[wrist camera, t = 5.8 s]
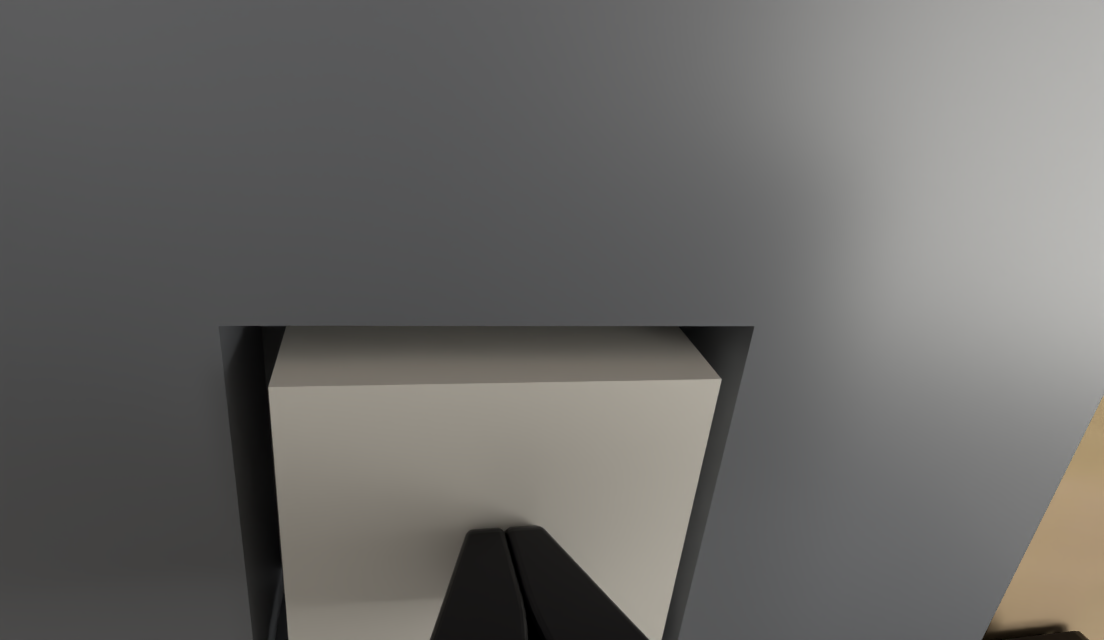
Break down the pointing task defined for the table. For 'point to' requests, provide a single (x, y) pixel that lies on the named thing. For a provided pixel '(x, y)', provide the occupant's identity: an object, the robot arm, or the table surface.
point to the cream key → (480, 462)
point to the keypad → (553, 276)
